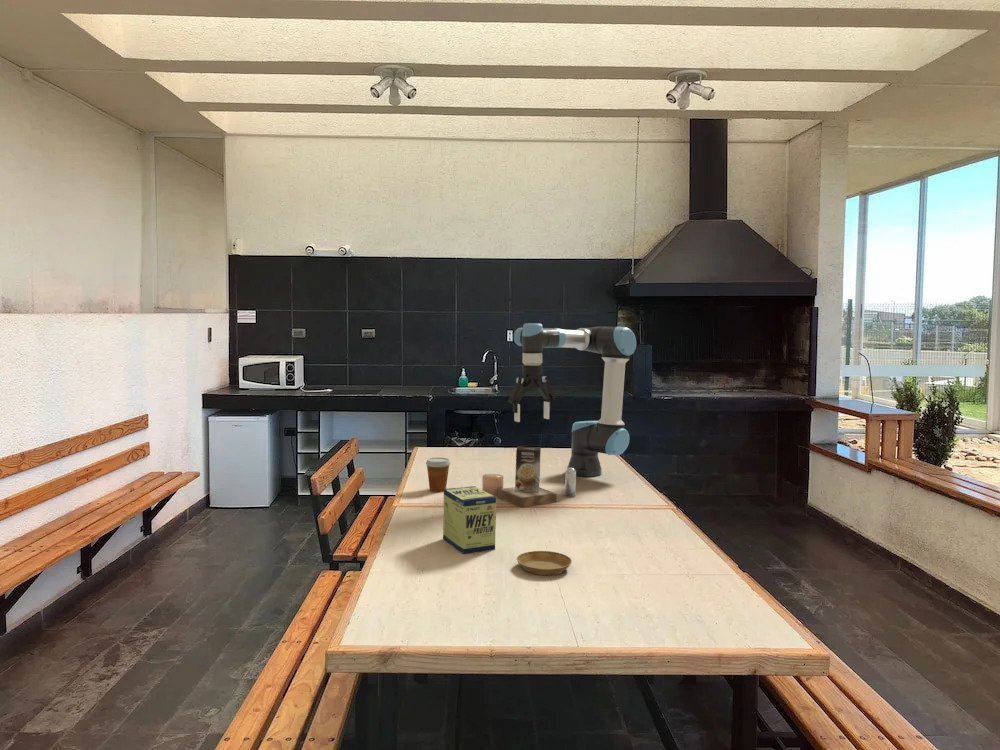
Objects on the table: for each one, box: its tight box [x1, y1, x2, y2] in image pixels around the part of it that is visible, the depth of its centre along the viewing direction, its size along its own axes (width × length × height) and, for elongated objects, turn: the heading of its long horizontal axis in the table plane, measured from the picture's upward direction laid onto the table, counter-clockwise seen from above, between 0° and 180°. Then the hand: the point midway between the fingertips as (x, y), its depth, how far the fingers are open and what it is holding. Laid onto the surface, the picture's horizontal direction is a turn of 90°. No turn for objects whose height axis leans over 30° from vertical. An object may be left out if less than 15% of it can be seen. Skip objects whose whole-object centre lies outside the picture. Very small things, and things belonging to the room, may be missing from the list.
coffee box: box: [514, 445, 542, 493], centre depth 259 cm, size 9×6×16 cm
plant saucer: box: [516, 550, 573, 576], centre depth 187 cm, size 15×15×3 cm
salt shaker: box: [564, 467, 577, 498], centre depth 266 cm, size 4×4×11 cm
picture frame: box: [496, 486, 558, 508], centre depth 259 cm, size 16×16×3 cm
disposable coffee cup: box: [425, 457, 451, 493], centre depth 271 cm, size 10×10×12 cm
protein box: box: [442, 485, 497, 555], centre depth 206 cm, size 10×16×16 cm
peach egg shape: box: [481, 473, 504, 498], centre depth 267 cm, size 8×8×7 cm
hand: (531, 420), depth 265 cm, fingers open, 13 cm apart
